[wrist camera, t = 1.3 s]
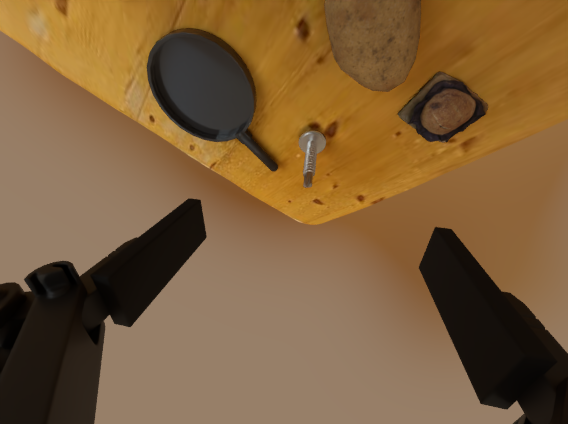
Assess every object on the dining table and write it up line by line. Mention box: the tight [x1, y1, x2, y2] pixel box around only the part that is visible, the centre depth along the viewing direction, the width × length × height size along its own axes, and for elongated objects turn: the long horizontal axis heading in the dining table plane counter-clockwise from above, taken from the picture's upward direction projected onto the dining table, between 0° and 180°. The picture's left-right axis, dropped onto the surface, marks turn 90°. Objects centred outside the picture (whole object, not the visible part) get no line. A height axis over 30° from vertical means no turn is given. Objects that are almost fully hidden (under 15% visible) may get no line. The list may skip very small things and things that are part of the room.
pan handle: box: [235, 127, 278, 171], centre depth 45 cm, size 11×2×2 cm, turn 39°
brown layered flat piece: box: [398, 72, 488, 143], centre depth 35 cm, size 11×8×4 cm
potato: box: [325, 0, 421, 92], centre depth 26 cm, size 10×14×8 cm
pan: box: [147, 28, 257, 142], centre depth 38 cm, size 17×17×2 cm
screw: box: [299, 130, 326, 188], centre depth 39 cm, size 13×5×5 cm
